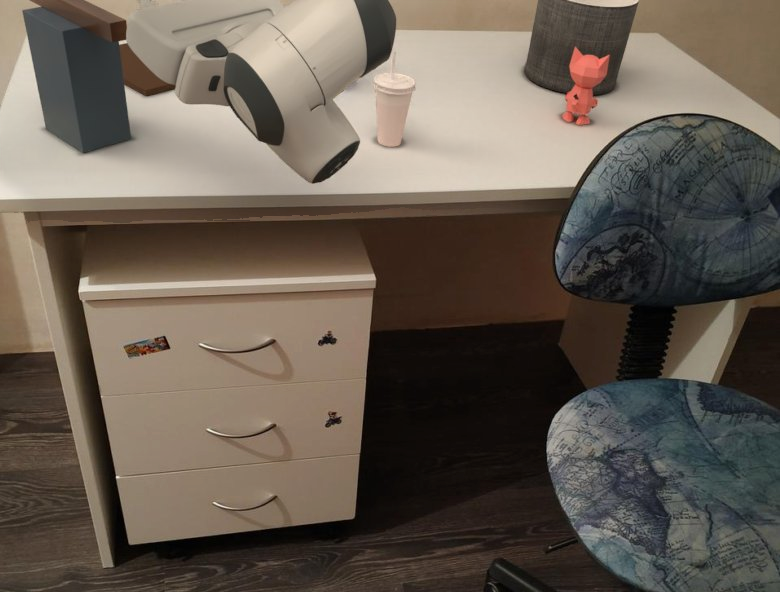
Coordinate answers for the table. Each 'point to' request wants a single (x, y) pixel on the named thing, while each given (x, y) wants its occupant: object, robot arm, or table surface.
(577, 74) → the cat figurine
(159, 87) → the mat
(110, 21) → the brown wooden bar
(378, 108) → the smoothie
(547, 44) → the planter
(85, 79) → the stand
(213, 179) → the table surface
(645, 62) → the table surface
